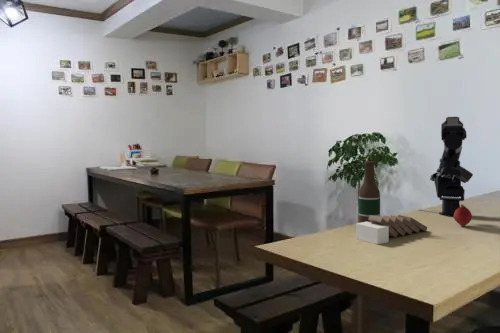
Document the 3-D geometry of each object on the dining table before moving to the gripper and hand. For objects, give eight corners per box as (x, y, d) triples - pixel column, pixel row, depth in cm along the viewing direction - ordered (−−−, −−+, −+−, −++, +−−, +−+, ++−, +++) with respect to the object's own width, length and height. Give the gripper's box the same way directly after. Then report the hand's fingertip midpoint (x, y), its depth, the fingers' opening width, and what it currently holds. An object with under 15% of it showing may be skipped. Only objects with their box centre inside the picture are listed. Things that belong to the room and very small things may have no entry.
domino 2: (393, 229, 142) (377, 215, 137) (405, 232, 138) (389, 218, 133) (391, 233, 142) (375, 219, 137) (404, 236, 138) (387, 222, 133)
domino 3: (400, 227, 144) (383, 215, 139) (412, 230, 140) (396, 217, 135) (398, 232, 144) (381, 219, 139) (410, 234, 139) (394, 222, 135)
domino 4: (407, 226, 146) (391, 215, 141) (420, 228, 142) (403, 217, 137) (406, 230, 146) (389, 219, 141) (418, 233, 142) (401, 222, 137)
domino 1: (386, 230, 140) (370, 215, 136) (398, 233, 136) (382, 217, 132) (384, 234, 140) (368, 219, 135) (396, 238, 136) (380, 221, 131)
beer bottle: (355, 227, 151) (356, 161, 149) (360, 223, 158) (361, 160, 156) (377, 229, 148) (378, 162, 146) (382, 225, 154) (382, 160, 152)
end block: (366, 236, 138) (366, 221, 138) (388, 242, 131) (388, 226, 130) (355, 238, 136) (355, 223, 136) (377, 244, 128) (377, 228, 128)
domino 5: (415, 224, 148) (398, 214, 143) (427, 227, 144) (410, 217, 139) (413, 228, 148) (397, 219, 143) (426, 231, 144) (409, 221, 139)
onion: (467, 224, 153) (468, 203, 153) (474, 228, 147) (475, 205, 147) (451, 224, 154) (451, 203, 153) (457, 228, 148) (457, 205, 147)
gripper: (483, 158, 143) (471, 202, 141) (464, 168, 161) (454, 207, 159) (449, 149, 145) (437, 191, 143) (435, 160, 163) (424, 197, 161)
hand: (439, 197), depth 152 cm, fingers closed
